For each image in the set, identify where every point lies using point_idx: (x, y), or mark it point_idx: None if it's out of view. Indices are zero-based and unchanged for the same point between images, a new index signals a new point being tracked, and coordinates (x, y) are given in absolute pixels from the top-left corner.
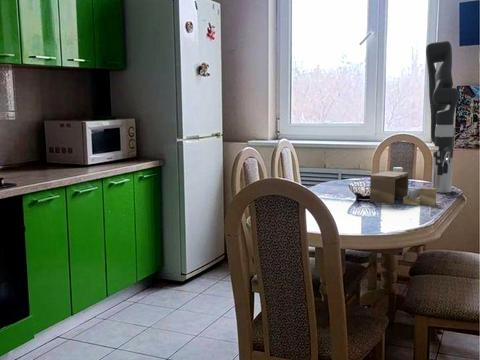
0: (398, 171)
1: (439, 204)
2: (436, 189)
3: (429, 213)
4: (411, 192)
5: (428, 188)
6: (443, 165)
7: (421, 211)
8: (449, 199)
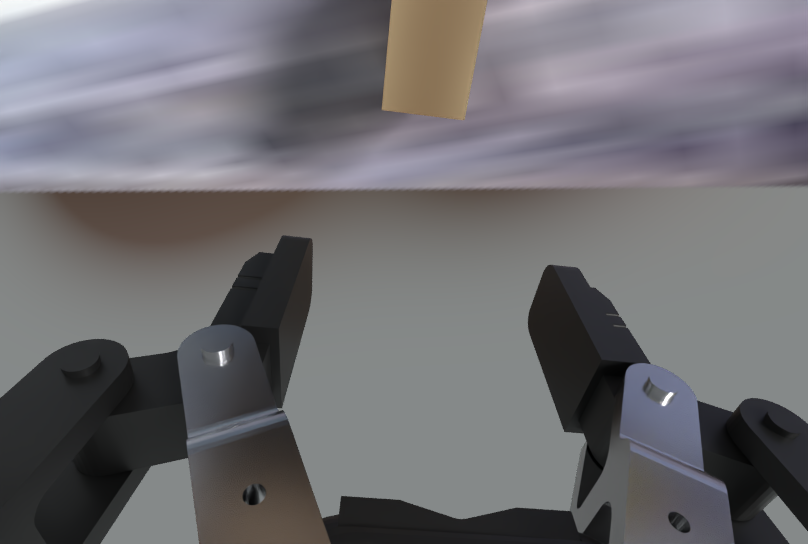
0: None
1: None
2: (457, 116)
3: (10, 114)
4: None
5: (419, 21)
6: (592, 366)
7: (31, 32)
8: (735, 144)
